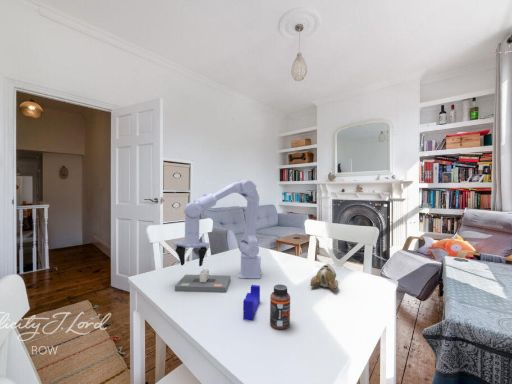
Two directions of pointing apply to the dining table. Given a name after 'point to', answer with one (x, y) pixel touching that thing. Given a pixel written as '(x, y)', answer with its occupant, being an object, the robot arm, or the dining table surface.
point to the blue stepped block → (251, 303)
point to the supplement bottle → (280, 307)
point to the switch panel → (203, 283)
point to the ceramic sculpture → (325, 278)
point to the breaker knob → (204, 275)
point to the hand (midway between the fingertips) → (191, 265)
